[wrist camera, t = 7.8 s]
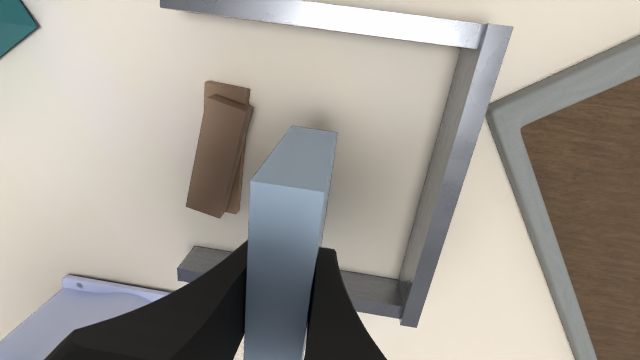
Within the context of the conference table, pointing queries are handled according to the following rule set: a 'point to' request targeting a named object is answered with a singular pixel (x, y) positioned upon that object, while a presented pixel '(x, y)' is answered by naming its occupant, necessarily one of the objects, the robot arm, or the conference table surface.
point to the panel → (286, 242)
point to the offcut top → (218, 154)
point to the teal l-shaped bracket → (13, 24)
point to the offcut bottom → (243, 97)
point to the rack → (450, 148)
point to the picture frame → (582, 193)
